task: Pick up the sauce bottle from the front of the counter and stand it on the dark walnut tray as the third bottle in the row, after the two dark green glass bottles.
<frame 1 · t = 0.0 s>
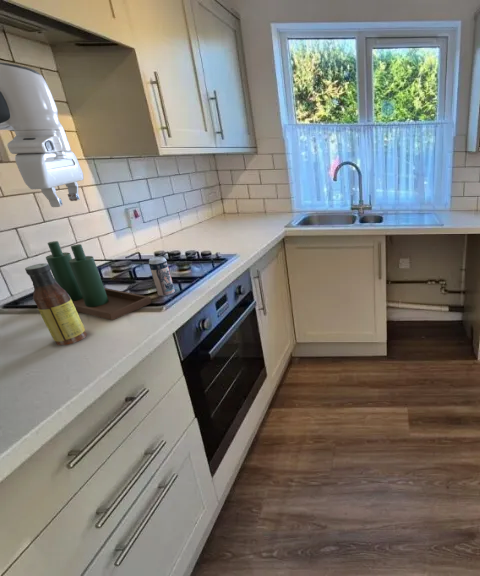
hand: (66, 203, 90), 31 cm above the countertop, tool pointing down, fingers open, 8 cm apart
tray: (98, 304, 109), on the countertop
sauce bottle: (71, 341, 90), on the countertop
green bottle A: (74, 298, 113), point 1 cm above the countertop, touching tray
green bottle B: (97, 303, 109), point 1 cm above the countertop, touching tray
beer can: (167, 294, 115), on the countertop
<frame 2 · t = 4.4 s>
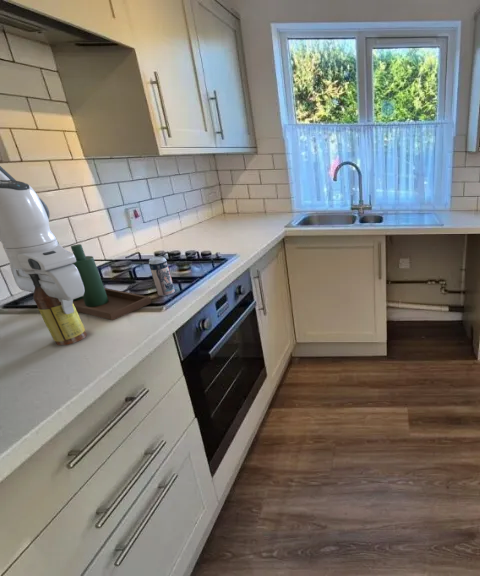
hand: (59, 310, 86), 8 cm above the countertop, tool pointing down, fingers closed on sauce bottle, 6 cm apart
sauce bottle: (71, 341, 90), on the countertop, touching arm, gripper
everything else where it was.
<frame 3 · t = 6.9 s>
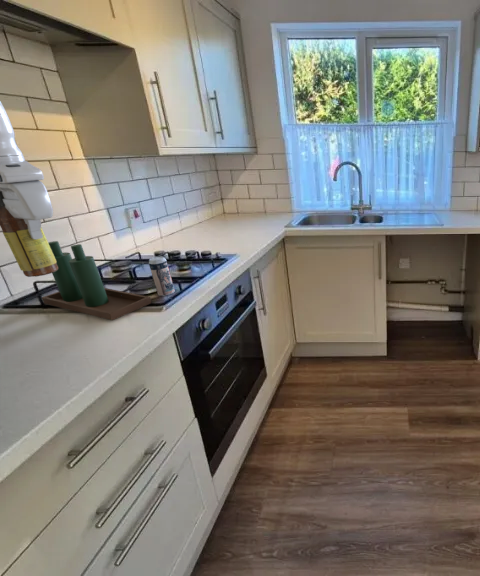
hand: (26, 237, 79), 26 cm above the countertop, tool pointing down, fingers closed on sauce bottle, 6 cm apart
sauce bottle: (41, 274, 82), point 18 cm above the countertop, touching arm, gripper
everything else where it was.
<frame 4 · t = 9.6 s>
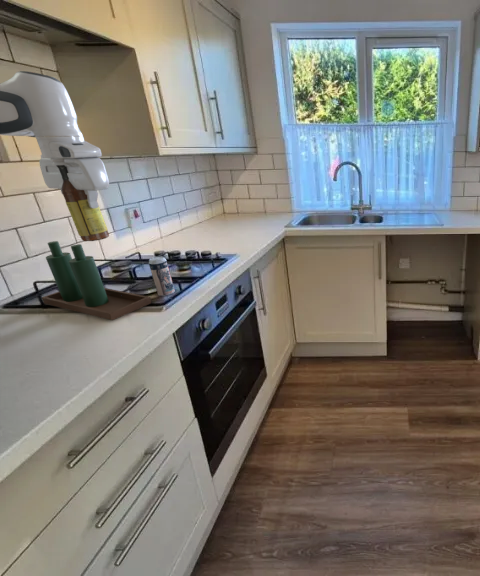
hand: (84, 207, 93), 30 cm above the countertop, tool pointing down, fingers closed on sauce bottle, 6 cm apart
sauce bottle: (95, 239, 96), point 21 cm above the countertop, touching arm, gripper
everything else where it was.
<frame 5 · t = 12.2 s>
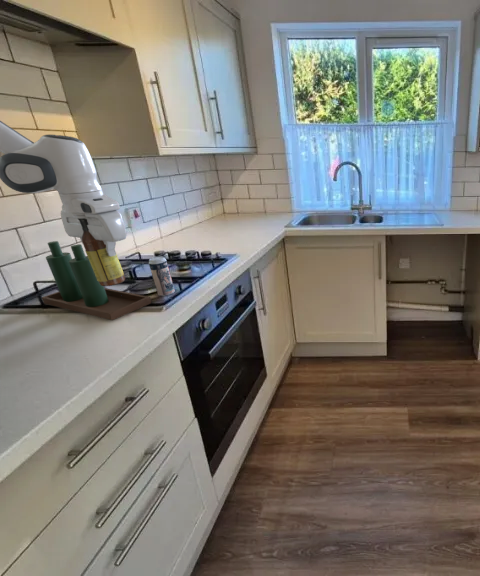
hand: (102, 254, 98), 17 cm above the countertop, tool pointing down, fingers closed on sauce bottle, 6 cm apart
sauce bottle: (112, 283, 101), point 8 cm above the countertop, touching arm, gripper
everything else where it was.
when the fingers open (9 cm above the countertop, at t = 14.6 s): sauce bottle stays where it is, resting on tray.
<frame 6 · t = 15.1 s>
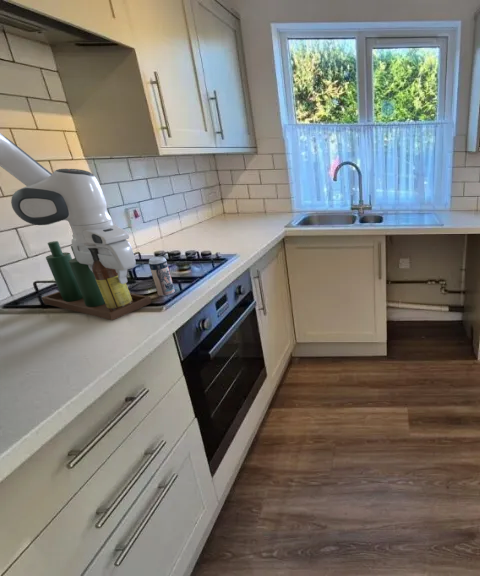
hand: (112, 280, 101), 9 cm above the countertop, tool pointing down, fingers open, 8 cm apart
sauce bottle: (121, 309, 105), resting on tray
everything else where it was.
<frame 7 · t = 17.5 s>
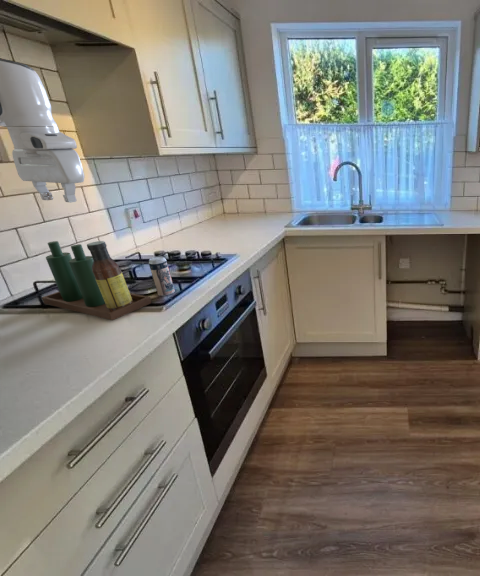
hand: (59, 201, 89), 32 cm above the countertop, tool pointing down, fingers open, 8 cm apart
nothing on the countertop moved.
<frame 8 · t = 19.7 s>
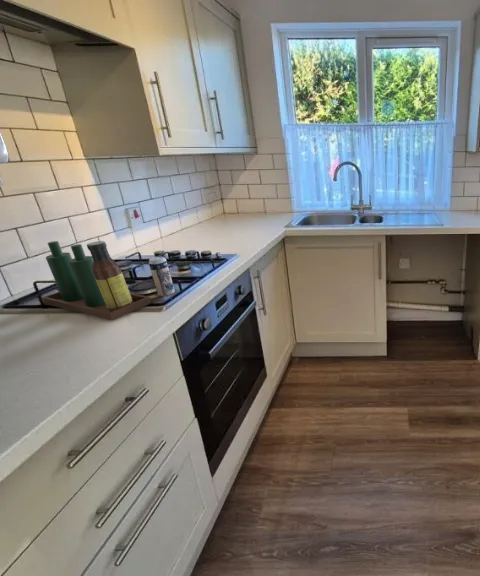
nothing on the countertop moved.
at the end: sauce bottle 0.2 cm from the target spot in the tray, point 0.4 cm above the tray's base; sauce bottle tilted 0°; green bottle B moved 0.0 cm from its start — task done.
